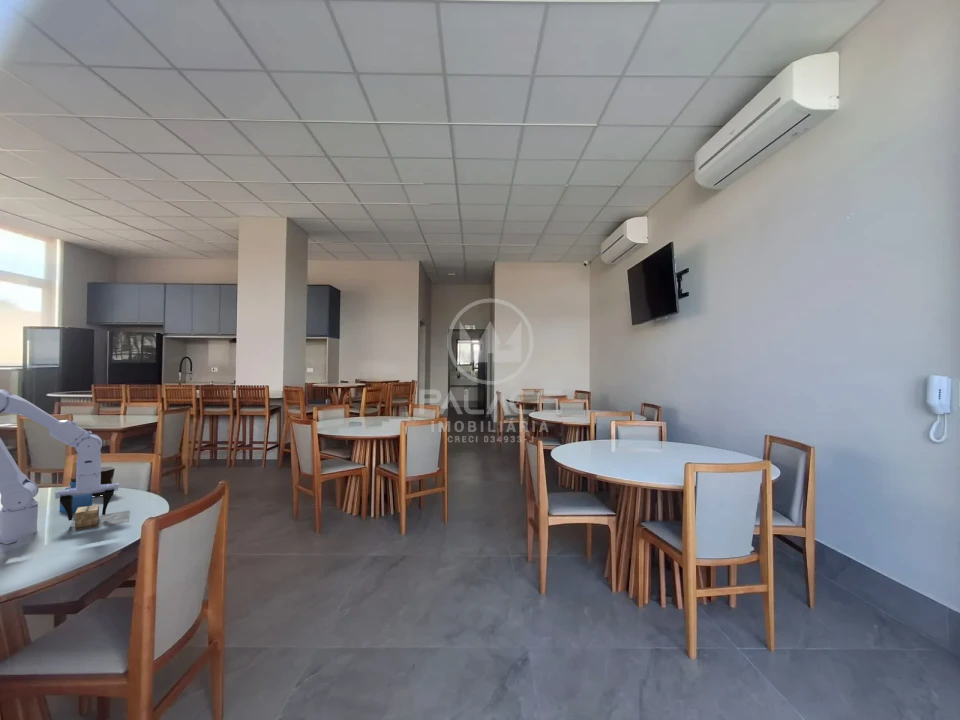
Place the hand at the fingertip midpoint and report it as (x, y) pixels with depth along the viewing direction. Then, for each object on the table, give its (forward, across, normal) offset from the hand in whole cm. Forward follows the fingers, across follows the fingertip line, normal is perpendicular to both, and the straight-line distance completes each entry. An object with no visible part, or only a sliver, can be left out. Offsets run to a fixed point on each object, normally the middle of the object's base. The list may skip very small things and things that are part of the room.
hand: (87, 516), depth 131 cm
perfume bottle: (+3, -4, +18) cm, 19 cm away
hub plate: (+3, +3, 0) cm, 4 cm away
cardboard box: (+2, 0, 0) cm, 2 cm away
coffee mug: (+3, 0, +38) cm, 38 cm away
